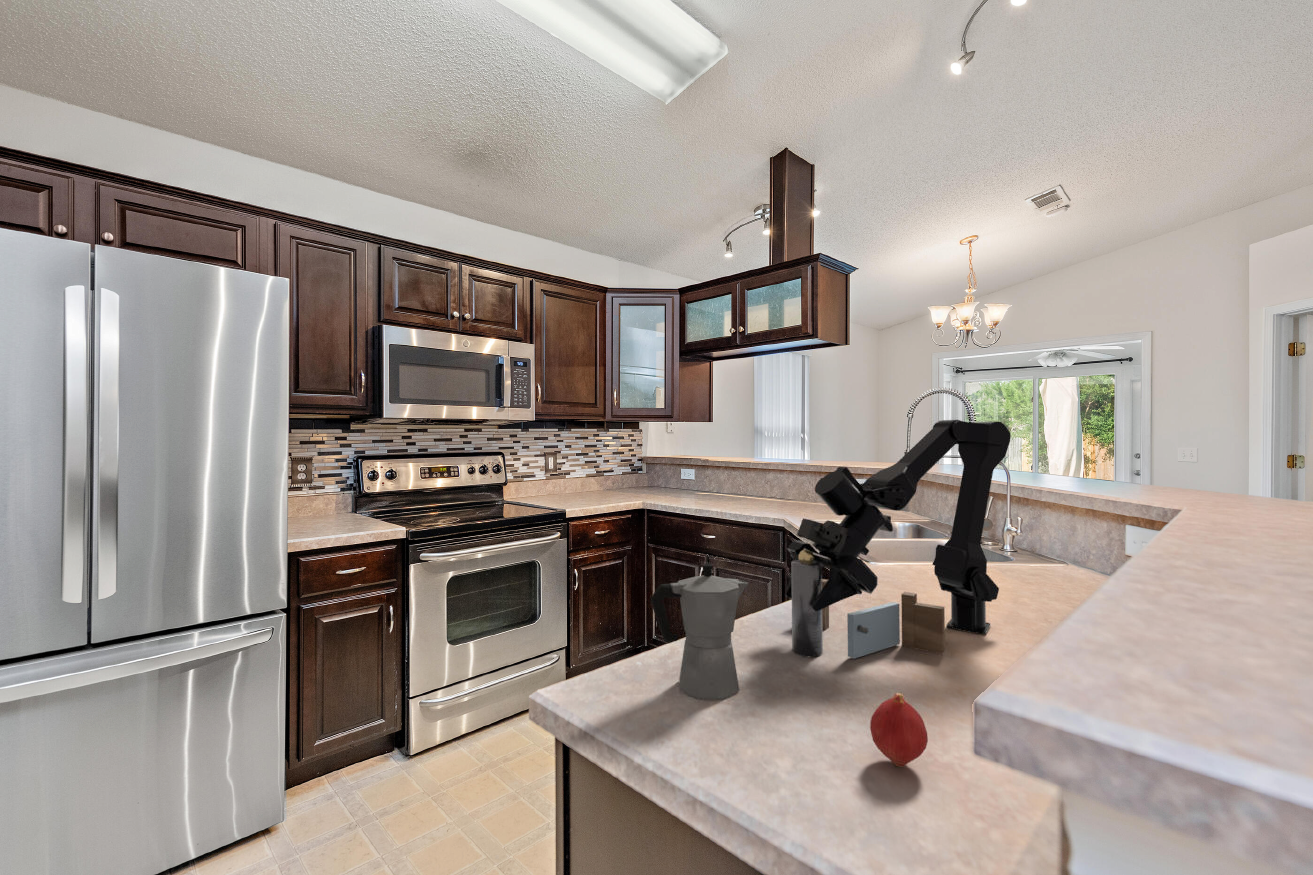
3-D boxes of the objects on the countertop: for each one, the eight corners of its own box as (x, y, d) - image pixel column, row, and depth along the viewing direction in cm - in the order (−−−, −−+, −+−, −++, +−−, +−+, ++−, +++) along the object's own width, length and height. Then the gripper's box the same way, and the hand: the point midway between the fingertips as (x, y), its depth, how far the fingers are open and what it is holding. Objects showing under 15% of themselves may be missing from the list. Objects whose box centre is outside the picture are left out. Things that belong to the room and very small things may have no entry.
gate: (893, 641, 99) (893, 601, 99) (907, 646, 97) (906, 605, 97) (847, 656, 92) (847, 613, 92) (861, 661, 90) (860, 617, 90)
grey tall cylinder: (799, 643, 99) (798, 545, 99) (827, 649, 96) (826, 549, 96) (787, 652, 95) (786, 550, 95) (815, 658, 92) (814, 553, 92)
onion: (861, 751, 65) (860, 682, 65) (909, 748, 65) (908, 679, 65) (886, 782, 59) (885, 706, 59) (938, 778, 60) (937, 703, 60)
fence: (803, 621, 111) (803, 576, 111) (945, 650, 95) (944, 597, 95) (799, 624, 109) (799, 578, 109) (942, 654, 94) (942, 600, 94)
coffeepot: (733, 667, 89) (732, 553, 89) (765, 692, 80) (763, 566, 80) (641, 682, 84) (640, 561, 84) (663, 711, 75) (662, 576, 75)
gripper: (796, 497, 106) (743, 560, 102) (861, 508, 88) (801, 585, 85) (832, 536, 108) (782, 599, 105) (903, 555, 91) (845, 631, 87)
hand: (799, 602), depth 95 cm, fingers open, 8 cm apart
